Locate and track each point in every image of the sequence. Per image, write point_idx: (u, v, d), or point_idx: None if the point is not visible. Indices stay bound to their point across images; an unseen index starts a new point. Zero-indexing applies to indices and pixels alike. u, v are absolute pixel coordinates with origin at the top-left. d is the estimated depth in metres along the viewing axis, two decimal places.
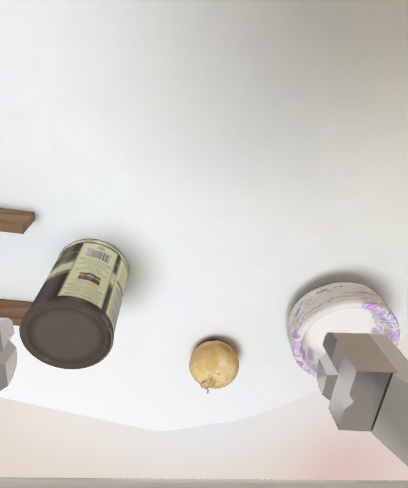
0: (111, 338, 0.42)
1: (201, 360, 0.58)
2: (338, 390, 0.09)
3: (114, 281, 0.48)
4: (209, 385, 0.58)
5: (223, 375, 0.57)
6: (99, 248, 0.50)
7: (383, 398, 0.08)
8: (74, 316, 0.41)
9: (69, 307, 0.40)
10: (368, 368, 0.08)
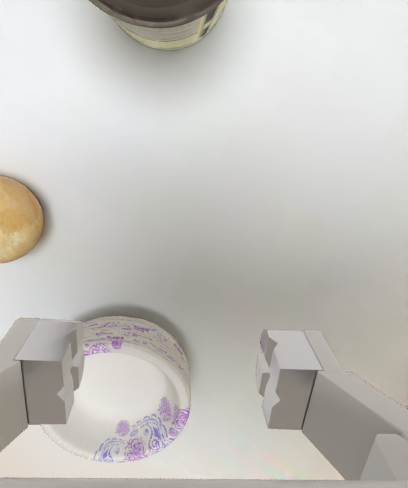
0: (154, 22, 0.18)
1: (11, 199, 0.31)
2: (269, 388, 0.09)
3: (202, 28, 0.25)
4: None
5: None
6: None
7: (311, 396, 0.08)
8: None
9: None
10: (294, 365, 0.08)
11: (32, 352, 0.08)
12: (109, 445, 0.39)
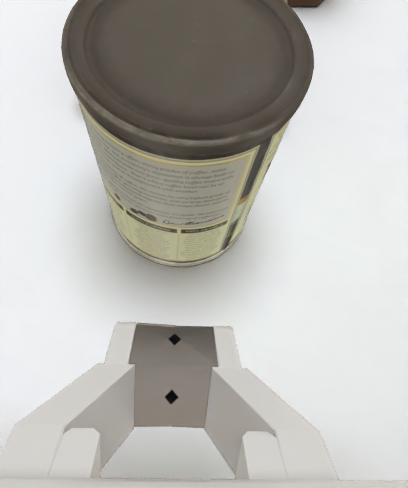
0: (196, 141, 0.13)
1: None
2: None
3: (233, 215, 0.21)
4: None
5: None
6: None
7: (209, 393, 0.08)
8: (262, 65, 0.15)
9: (292, 60, 0.16)
10: (190, 362, 0.08)
11: (142, 356, 0.08)
12: None
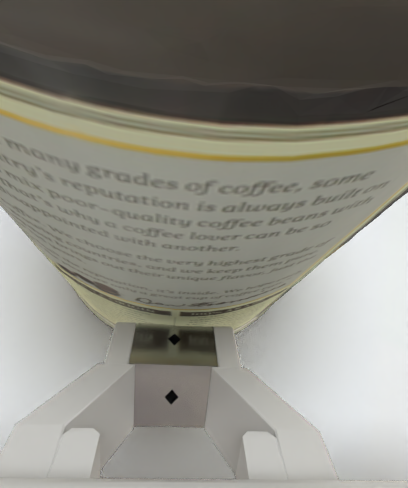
0: None
1: None
2: None
3: (301, 277, 0.09)
4: None
5: None
6: None
7: (209, 393, 0.08)
8: None
9: None
10: (190, 362, 0.08)
11: (142, 356, 0.08)
12: None
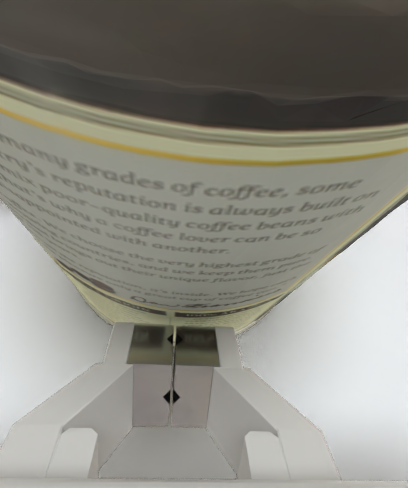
0: None
1: None
2: None
3: (298, 283, 0.09)
4: None
5: None
6: None
7: (211, 393, 0.08)
8: None
9: None
10: (191, 362, 0.08)
11: (141, 356, 0.08)
12: None
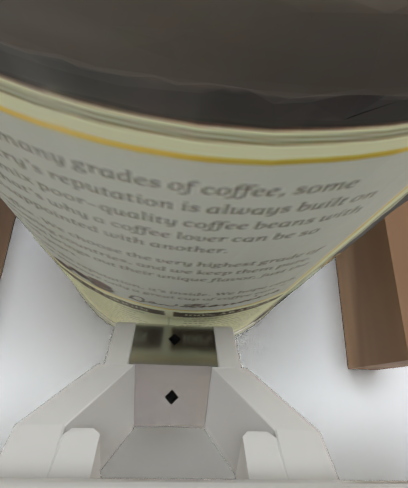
0: None
1: None
2: None
3: (297, 284, 0.09)
4: None
5: None
6: None
7: (209, 393, 0.08)
8: None
9: None
10: (190, 362, 0.08)
11: (142, 356, 0.08)
12: None
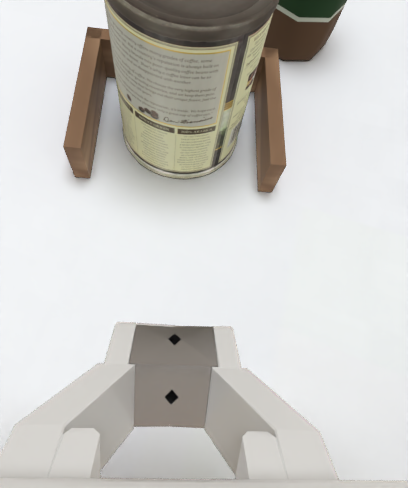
0: (189, 26, 0.19)
1: None
2: None
3: (220, 121, 0.26)
4: None
5: None
6: (237, 134, 0.31)
7: (209, 393, 0.08)
8: None
9: None
10: (190, 362, 0.08)
11: (142, 356, 0.08)
12: None
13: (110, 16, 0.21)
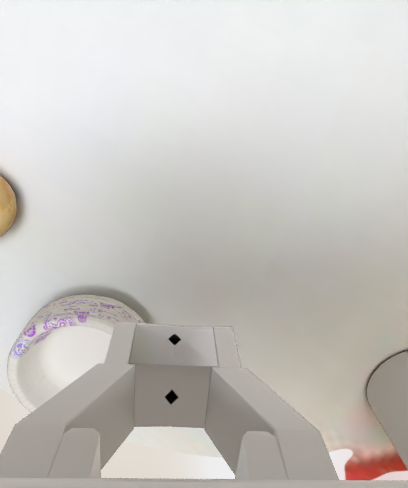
0: None
1: None
2: None
3: None
4: None
5: None
6: None
7: (209, 393, 0.08)
8: None
9: None
10: (190, 362, 0.08)
11: (142, 356, 0.08)
12: None
13: None
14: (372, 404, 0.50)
